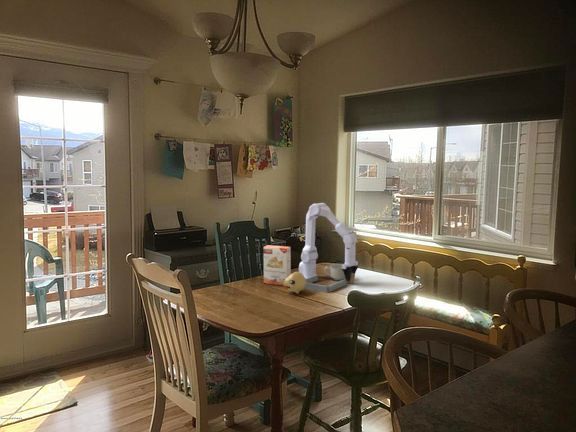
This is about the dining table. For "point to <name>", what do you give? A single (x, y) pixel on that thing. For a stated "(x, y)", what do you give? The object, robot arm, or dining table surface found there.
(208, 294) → the dining table surface
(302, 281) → the yellow lumpy rounded piece
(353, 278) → the walnut block
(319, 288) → the gray open frame
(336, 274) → the teacup
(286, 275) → the cracker box
